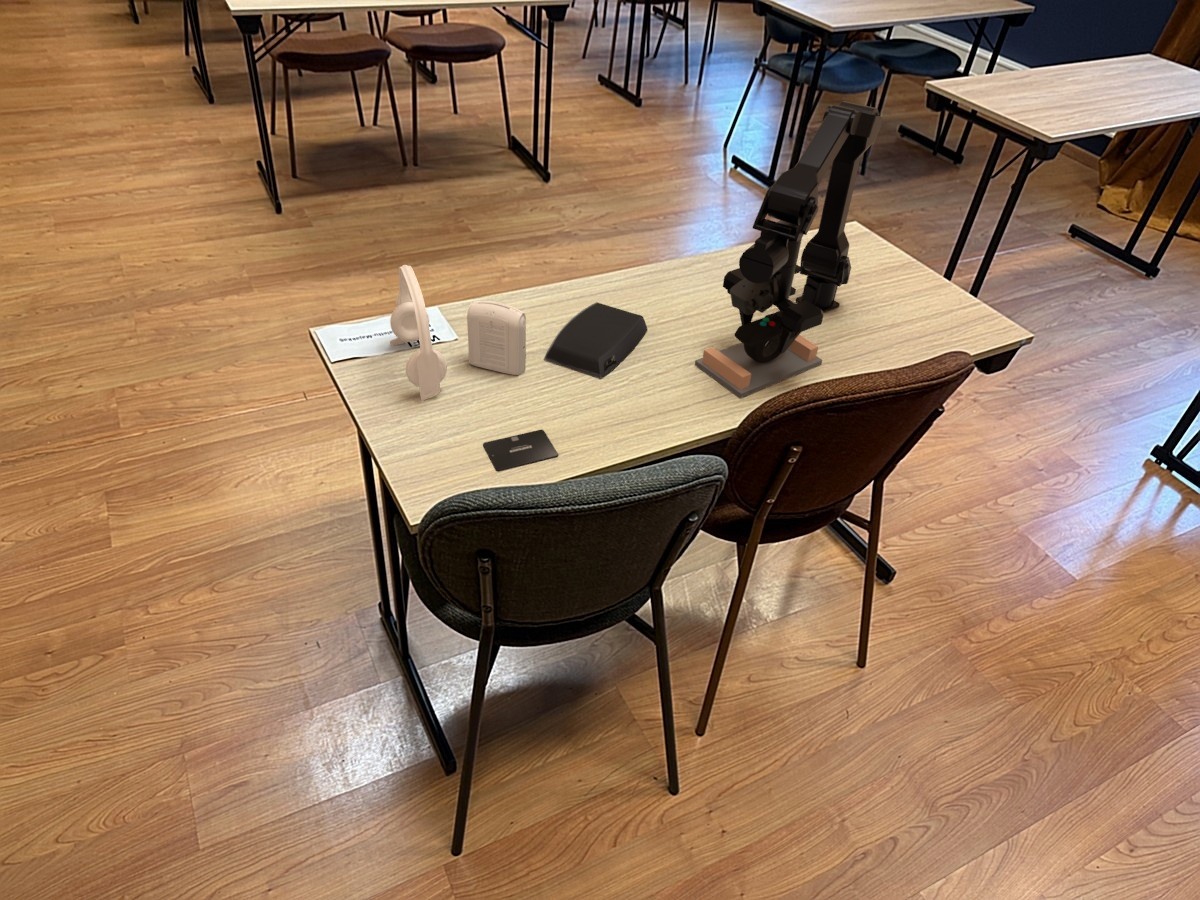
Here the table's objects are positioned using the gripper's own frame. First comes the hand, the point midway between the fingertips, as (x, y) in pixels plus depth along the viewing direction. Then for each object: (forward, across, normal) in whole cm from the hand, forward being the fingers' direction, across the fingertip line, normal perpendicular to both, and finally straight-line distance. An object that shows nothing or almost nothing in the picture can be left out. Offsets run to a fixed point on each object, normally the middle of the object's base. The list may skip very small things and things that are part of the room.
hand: (763, 340), depth 148 cm
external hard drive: (+6, -21, -21) cm, 30 cm away
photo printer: (+5, -24, -40) cm, 47 cm away
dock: (+5, 0, 0) cm, 5 cm away
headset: (+5, -30, -52) cm, 60 cm away
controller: (+4, 0, 0) cm, 4 cm away
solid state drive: (+6, -2, -49) cm, 49 cm away
